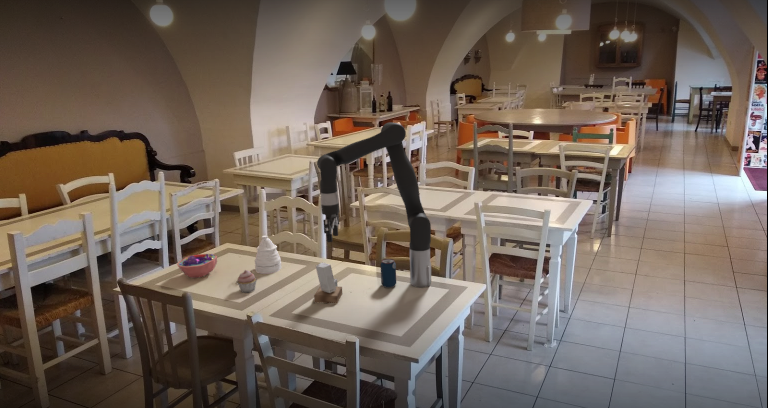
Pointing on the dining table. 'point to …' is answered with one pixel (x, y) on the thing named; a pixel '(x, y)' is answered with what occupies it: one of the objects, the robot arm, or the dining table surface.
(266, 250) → the honey pot
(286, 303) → the dining table surface
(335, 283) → the grey block
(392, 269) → the soda can
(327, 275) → the skincare box
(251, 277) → the cupcake
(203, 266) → the cell model
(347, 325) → the dining table surface
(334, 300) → the walnut block
